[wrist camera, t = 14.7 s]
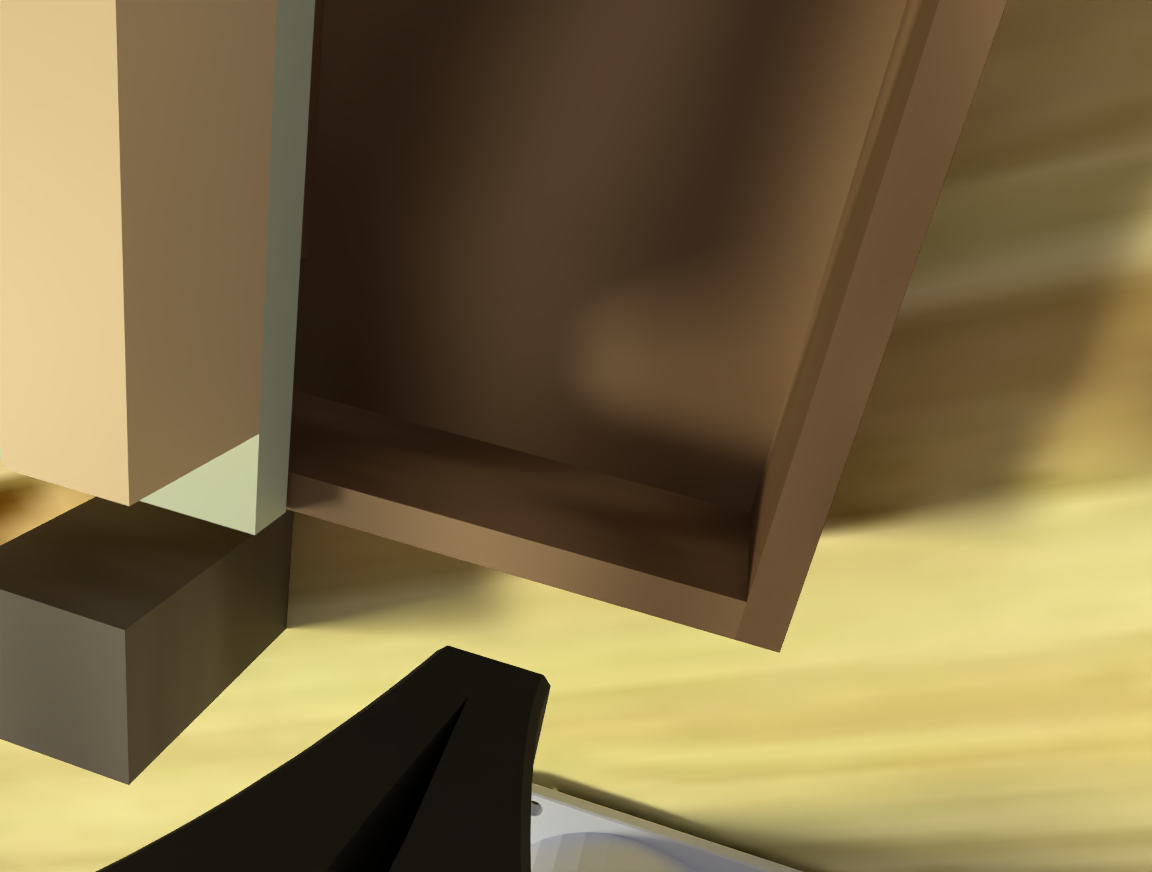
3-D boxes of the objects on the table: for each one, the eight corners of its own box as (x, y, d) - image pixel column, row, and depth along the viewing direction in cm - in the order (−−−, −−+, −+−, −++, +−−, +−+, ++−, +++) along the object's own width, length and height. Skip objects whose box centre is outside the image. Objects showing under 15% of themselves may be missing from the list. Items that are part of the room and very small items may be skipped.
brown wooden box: (1016, -204, 13) (1136, -373, 9) (776, 537, 18) (779, 652, 14) (56, -335, 15) (-207, -516, 11) (87, 351, 20) (-84, 401, 16)
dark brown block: (294, 503, 21) (124, 630, 15) (286, 628, 22) (128, 784, 17) (159, 464, 21) (-52, 572, 16) (160, 588, 23) (-33, 727, 17)
